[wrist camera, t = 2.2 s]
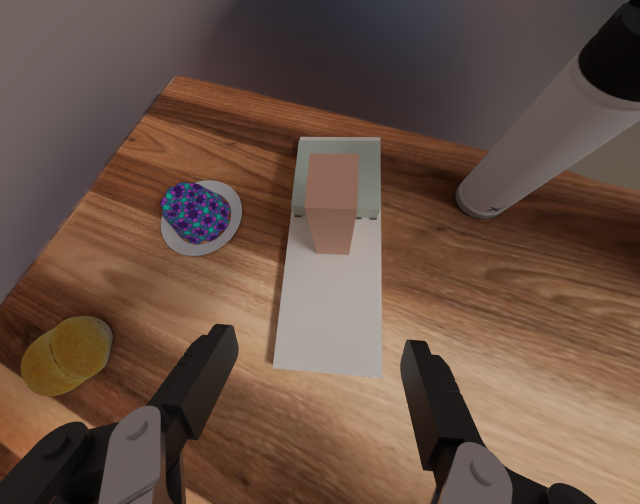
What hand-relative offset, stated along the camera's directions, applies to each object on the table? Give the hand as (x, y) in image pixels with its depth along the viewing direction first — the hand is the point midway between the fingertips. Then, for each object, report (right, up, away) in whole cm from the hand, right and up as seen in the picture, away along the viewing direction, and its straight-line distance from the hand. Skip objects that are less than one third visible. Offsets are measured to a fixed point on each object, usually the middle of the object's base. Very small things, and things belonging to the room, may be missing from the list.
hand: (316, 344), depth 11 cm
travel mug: (+22, +11, +20) cm, 32 cm away
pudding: (-17, +9, +23) cm, 30 cm away
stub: (+2, +6, +19) cm, 20 cm away
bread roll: (-30, -8, +18) cm, 36 cm away
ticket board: (+2, +6, +20) cm, 21 cm away
